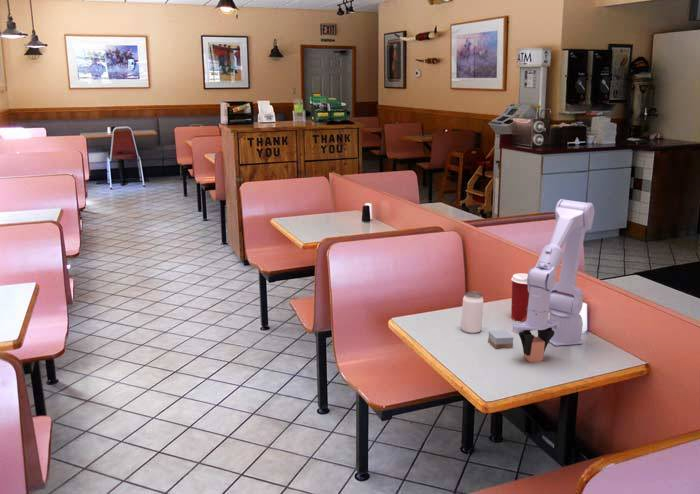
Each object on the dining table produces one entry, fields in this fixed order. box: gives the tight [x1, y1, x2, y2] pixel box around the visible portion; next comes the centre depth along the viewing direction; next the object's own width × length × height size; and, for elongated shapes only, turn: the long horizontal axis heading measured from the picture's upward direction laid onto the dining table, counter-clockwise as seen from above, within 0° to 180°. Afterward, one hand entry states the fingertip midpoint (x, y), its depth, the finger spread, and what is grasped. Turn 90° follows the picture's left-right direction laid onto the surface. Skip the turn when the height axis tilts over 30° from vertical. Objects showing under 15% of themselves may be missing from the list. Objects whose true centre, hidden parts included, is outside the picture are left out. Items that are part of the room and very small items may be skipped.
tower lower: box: [487, 337, 514, 350], centre depth 193 cm, size 6×6×2 cm
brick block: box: [523, 335, 545, 363], centre depth 184 cm, size 4×4×6 cm
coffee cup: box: [510, 272, 529, 323], centre depth 214 cm, size 8×8×15 cm
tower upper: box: [488, 330, 514, 345], centre depth 193 cm, size 6×6×2 cm
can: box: [460, 291, 484, 334], centre depth 203 cm, size 6×6×12 cm
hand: (533, 353), depth 184 cm, fingers closed on brick block, 4 cm apart
